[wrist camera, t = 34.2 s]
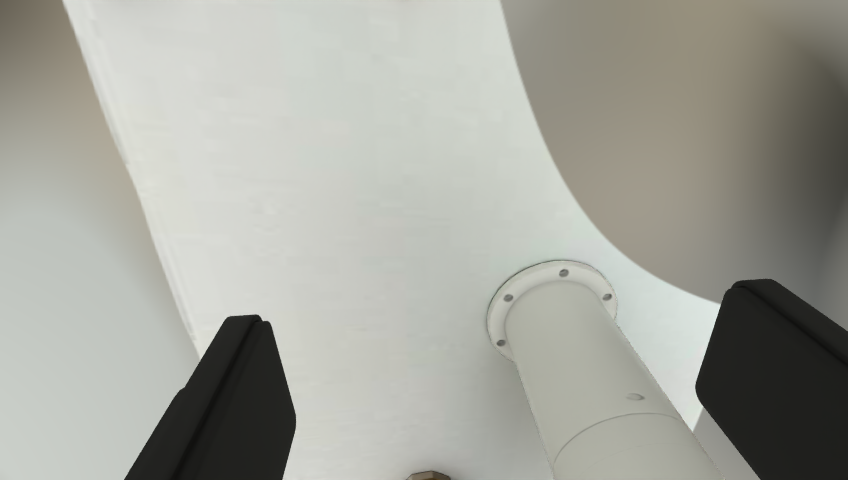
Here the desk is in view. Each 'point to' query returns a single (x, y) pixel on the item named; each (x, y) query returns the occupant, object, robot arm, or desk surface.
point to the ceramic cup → (428, 476)
